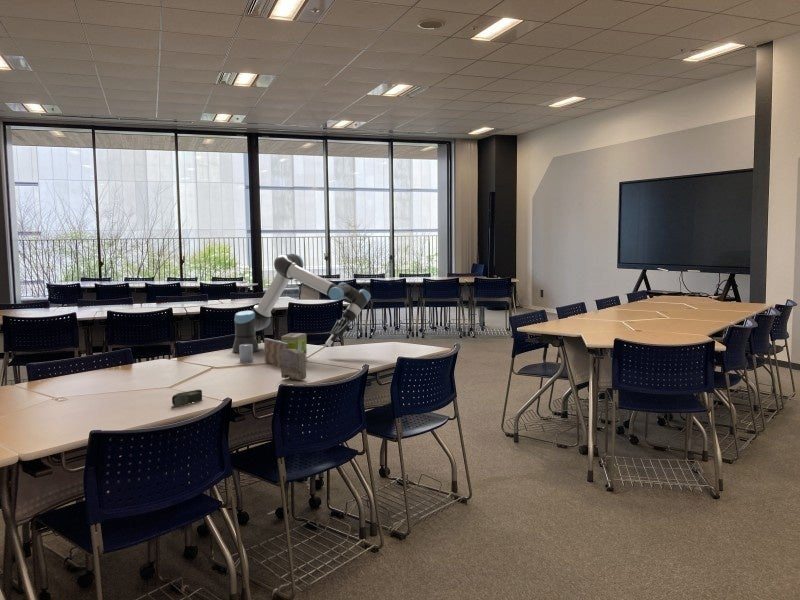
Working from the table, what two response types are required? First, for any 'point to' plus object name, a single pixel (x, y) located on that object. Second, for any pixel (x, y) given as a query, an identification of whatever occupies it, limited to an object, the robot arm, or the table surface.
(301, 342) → the tea box
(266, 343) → the board
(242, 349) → the grey capsule cylinder
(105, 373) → the table surface
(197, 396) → the dark grey elongated bar
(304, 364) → the geological specimen
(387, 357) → the table surface
